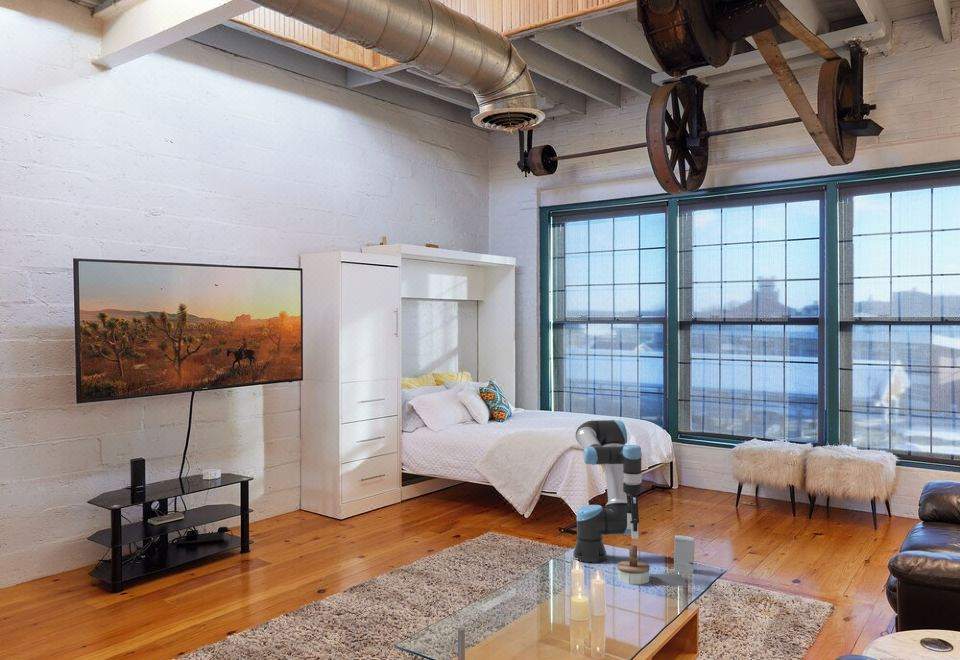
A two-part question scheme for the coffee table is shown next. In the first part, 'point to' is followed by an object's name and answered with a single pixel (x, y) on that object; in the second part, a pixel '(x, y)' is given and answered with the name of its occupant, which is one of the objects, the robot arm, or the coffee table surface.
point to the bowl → (633, 577)
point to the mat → (668, 579)
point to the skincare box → (683, 554)
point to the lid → (633, 563)
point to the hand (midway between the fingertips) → (632, 533)
